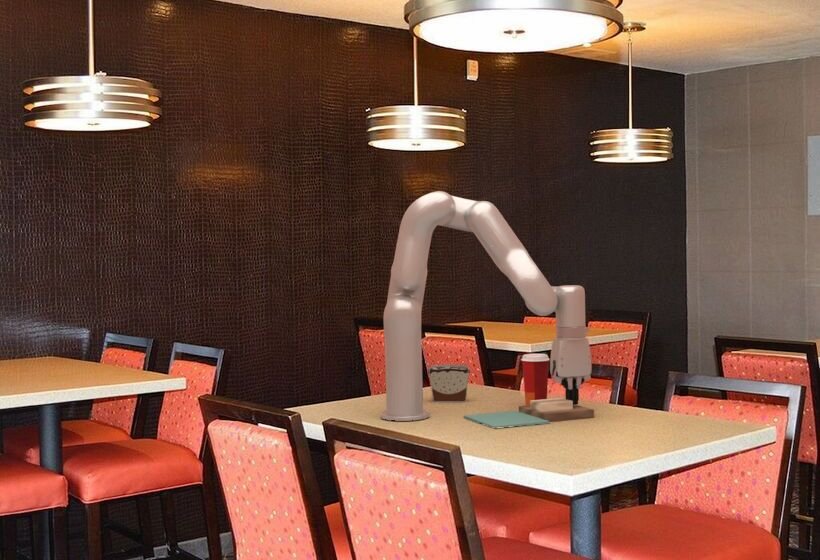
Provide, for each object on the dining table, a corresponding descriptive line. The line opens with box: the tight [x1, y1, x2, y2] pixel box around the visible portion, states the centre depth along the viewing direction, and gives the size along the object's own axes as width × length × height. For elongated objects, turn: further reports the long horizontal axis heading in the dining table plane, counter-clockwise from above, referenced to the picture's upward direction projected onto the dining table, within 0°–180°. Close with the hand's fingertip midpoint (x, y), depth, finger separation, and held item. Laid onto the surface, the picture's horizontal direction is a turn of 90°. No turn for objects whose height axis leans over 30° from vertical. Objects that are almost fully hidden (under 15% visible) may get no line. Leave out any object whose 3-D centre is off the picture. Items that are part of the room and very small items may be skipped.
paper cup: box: [520, 353, 551, 406], centre depth 282 cm, size 8×8×14 cm
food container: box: [426, 364, 471, 403], centre depth 296 cm, size 12×6×10 cm, turn 82°
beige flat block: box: [530, 397, 573, 412], centre depth 266 cm, size 6×9×2 cm, turn 112°
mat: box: [463, 410, 551, 428], centre depth 261 cm, size 18×15×1 cm
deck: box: [518, 404, 595, 423], centre depth 267 cm, size 14×14×2 cm
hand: (572, 403), depth 268 cm, fingers closed
